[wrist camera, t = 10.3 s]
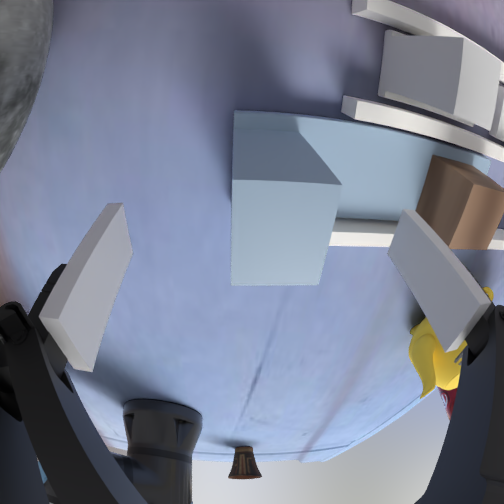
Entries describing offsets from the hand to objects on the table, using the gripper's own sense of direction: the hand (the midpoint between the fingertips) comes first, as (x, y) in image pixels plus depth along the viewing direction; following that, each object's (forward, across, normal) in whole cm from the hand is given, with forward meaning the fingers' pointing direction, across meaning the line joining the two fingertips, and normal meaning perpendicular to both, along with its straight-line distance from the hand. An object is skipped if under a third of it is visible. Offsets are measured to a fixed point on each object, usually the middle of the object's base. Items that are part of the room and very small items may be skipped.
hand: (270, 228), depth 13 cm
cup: (+9, +1, -75) cm, 75 cm away
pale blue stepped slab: (+8, +9, 0) cm, 12 cm away
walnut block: (+6, +15, 0) cm, 17 cm away
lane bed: (+7, +18, +4) cm, 20 cm away
